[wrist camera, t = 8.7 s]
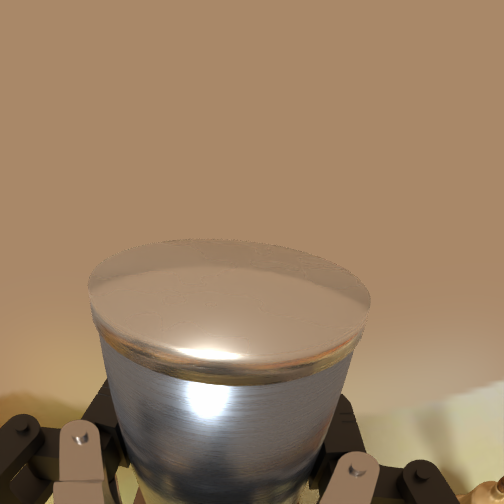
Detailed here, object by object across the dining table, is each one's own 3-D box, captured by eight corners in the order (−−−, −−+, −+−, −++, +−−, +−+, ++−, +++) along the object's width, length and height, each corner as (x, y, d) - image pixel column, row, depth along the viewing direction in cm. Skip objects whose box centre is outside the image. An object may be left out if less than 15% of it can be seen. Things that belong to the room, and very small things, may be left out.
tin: (140, 554, 7) (27, 315, 4) (167, 460, 13) (147, 232, 10) (287, 571, 7) (420, 358, 4) (283, 472, 13) (335, 249, 10)
